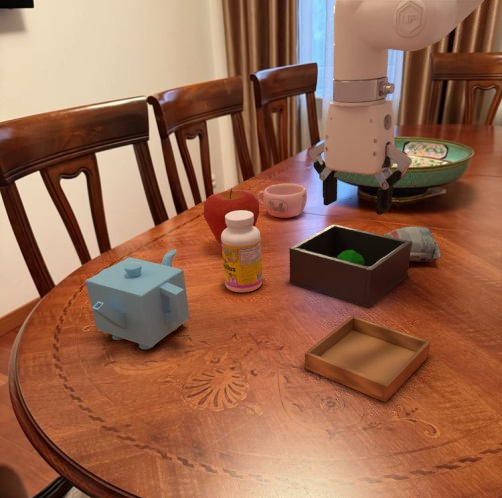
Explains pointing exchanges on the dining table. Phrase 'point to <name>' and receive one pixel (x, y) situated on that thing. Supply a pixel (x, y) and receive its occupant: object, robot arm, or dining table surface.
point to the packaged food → (418, 243)
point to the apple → (228, 208)
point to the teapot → (139, 300)
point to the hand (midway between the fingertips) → (355, 207)
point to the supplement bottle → (241, 252)
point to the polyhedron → (351, 257)
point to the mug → (284, 200)
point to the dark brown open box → (350, 264)
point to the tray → (367, 357)
